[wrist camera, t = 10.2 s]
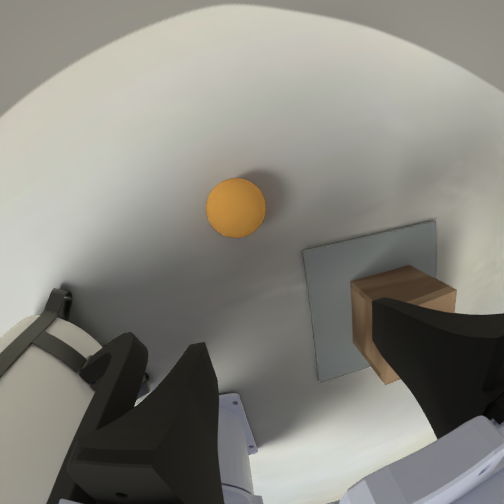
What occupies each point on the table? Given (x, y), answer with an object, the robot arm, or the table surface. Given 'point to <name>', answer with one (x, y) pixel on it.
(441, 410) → the robot arm
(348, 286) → the slate mat
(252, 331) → the table surface
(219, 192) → the orange ball
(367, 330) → the wooden grain cube
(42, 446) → the coffee press
